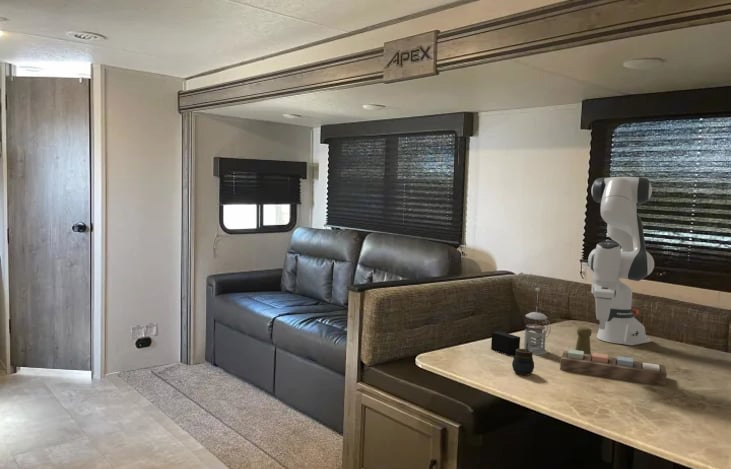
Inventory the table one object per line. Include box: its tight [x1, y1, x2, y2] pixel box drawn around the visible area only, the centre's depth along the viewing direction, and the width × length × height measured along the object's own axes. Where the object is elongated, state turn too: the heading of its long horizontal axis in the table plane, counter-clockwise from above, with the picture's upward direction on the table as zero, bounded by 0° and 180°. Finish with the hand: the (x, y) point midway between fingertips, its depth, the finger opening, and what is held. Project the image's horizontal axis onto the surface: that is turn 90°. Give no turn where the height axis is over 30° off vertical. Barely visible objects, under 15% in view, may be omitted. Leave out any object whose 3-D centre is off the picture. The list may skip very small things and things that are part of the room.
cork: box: [574, 326, 592, 355], centre depth 220 cm, size 6×6×11 cm
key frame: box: [559, 350, 668, 387], centre depth 200 cm, size 33×11×4 cm, turn 66°
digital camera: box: [490, 330, 521, 357], centre depth 222 cm, size 10×5×7 cm, turn 37°
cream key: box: [642, 362, 660, 371], centre depth 195 cm, size 5×5×2 cm
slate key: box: [616, 355, 634, 367], centre depth 198 cm, size 5×5×2 cm
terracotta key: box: [591, 352, 609, 363], centre depth 201 cm, size 5×5×2 cm
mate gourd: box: [511, 342, 535, 376], centre depth 196 cm, size 7×8×10 cm
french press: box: [521, 287, 552, 356], centre depth 224 cm, size 10×12×25 cm
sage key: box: [568, 348, 584, 360], centre depth 205 cm, size 5×5×2 cm
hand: (602, 328), depth 200 cm, fingers closed
